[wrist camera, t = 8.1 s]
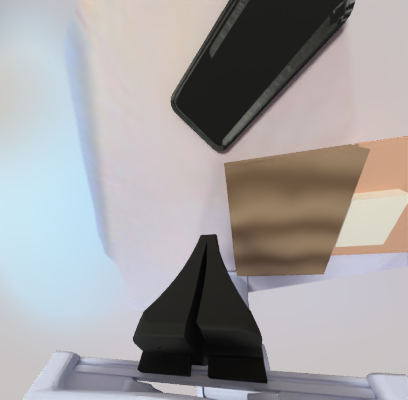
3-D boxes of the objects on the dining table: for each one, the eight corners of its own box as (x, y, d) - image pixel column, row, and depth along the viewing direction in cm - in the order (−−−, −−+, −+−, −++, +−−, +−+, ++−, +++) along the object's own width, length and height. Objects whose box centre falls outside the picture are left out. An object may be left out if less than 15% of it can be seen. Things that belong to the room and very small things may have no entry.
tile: (373, 236, 22) (383, 244, 21) (328, 239, 23) (335, 247, 22) (398, 188, 18) (412, 194, 17) (342, 194, 19) (351, 200, 18)
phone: (361, 4, 11) (220, 155, 17) (349, 13, 12) (220, 153, 18) (302, -125, 9) (165, 103, 15) (293, -101, 10) (168, 103, 16)
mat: (435, 247, 23) (440, 250, 22) (320, 253, 25) (322, 255, 25) (551, 114, 14) (562, 114, 13) (355, 143, 16) (359, 144, 16)
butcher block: (315, 260, 26) (323, 274, 24) (235, 264, 28) (236, 276, 26) (350, 144, 16) (370, 149, 14) (224, 163, 19) (225, 169, 16)
